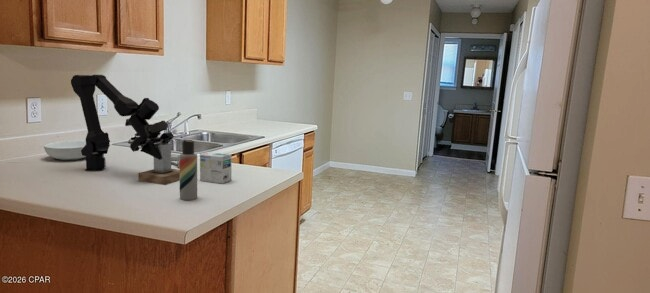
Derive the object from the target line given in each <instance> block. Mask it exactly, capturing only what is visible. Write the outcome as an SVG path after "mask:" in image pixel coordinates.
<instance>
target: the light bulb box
mask: <svg viewBox="0 0 650 293" xmlns="http://www.w3.org/2000/svg"><path fill="white" fill-rule="evenodd" d="M199 181H200V182H201V181H202V182H209V183H216V184H224V183H227V182H231V181H232V154H230V153H229V154H228V153H221V152H211V151H208V152H204V153H200V154H199Z"/></svg>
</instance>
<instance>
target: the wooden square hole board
mask: <svg viewBox="0 0 650 293" xmlns="http://www.w3.org/2000/svg"><path fill="white" fill-rule="evenodd" d="M137 174H138V175H137V176H138V182H145V183H151V184H152V183H153V184H158V185H164V186H165V185H168V184H172V183H175V182H178V181H179V182H180V169H175V168H171V173H167V174H157V173H154V168H152V169H148V170H145V171H140V172H138V173H137Z"/></svg>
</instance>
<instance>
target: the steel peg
mask: <svg viewBox="0 0 650 293" xmlns="http://www.w3.org/2000/svg"><path fill="white" fill-rule="evenodd" d="M154 146H155V148H156V149H157V151H158V152H159V154H160V155H161V157H162V159H161V160H159V159H157V158H155V157H153V169H154V173H157V174H167V173H171V169H172V161H171V154H172V144H171V143H157V144H155V143H154Z"/></svg>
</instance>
